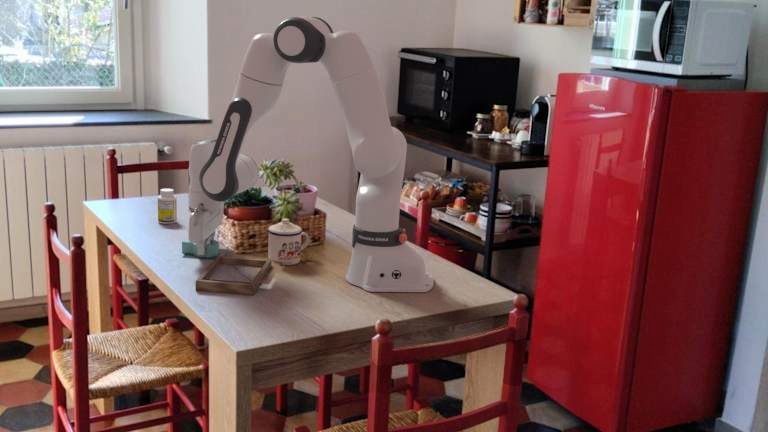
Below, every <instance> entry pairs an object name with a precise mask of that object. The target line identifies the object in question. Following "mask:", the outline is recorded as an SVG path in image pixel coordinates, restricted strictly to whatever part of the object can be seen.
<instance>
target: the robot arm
mask: <svg viewBox="0 0 768 432" xmlns="http://www.w3.org/2000/svg"><path fill="white" fill-rule="evenodd" d="M318 62H319V63H321V65H323V66H324V68H325V70H326V72H327V74H328V76H329V80H330V82H331V85H332V88H333V91H334V93H335V95H336V97H337V101H338V103H339V106H340V110H341V112H342V115H343V119H344V123H345V128H346V133H347V137H348V142H349V146H350V150H351V152H352V162H353V164H354V165H353V166H355V169H356V170H357V171H358V173H360V176H359V182H358V187H357V190H356V191H357V192H356V197H355V214H354V215H355V218H354V224H353V227H352V230H351V247H352V252H351V258H350V262H349V266H348V270H347V271H346V275H345V280H346V281H347V282H348V283H350V284H351V285H354V286H357V287H359V288H361V289H363V290H365V291H366V292H371V293H373V292H375V293H376V292H377V293H380V292H381V293H427V292H429V291H431V290H432V289H433V287H434V285H435V283H434V277H433V276H432V275H431V274H430V273H429V272H427V271H426V269H427V268H426V263H425V260H424V258H423V255H421V254H420V253H418V252H417V251H416V250H415V249H414V248H413V247H411V246H410V245H409V244H408V243H407V240H408V235H407V232H406V229H405V228H401V227H400V226H399V223H400V211H401V210H400V209H401V207H400V206H401V197H402V189H403V185H404V184H403V183H404V175H405V170H406V169H405V168H406V162H407V151H408V145H407V144H408V142H407V140H406V139H407V138H405V136H404V134H403V132H402V131H400V129H398V128H397V127H394V126H392V124H391V120H390V116H389V115H390V114H389V110H388V107H387V105H388V104H387V99H386V96H385V93H384V90H383V86H382V85H381V82H380V80H379V76H378V73H377V72H376V71H377V70H376V69H375V65H374V64H373V60H372V58H371V56H370V54H369V52H368V50H367V48H366V46H365V44H364V42H363V41H362V38H360V35H358V34H357V33H356V32H354V31H352V30H347V29H345V30H344V29H343V30H339V31H336V32H334V30H333V28H332V27H331V25H330V24H329V23H328V22H327V21H325V20H324V19H322V18H320V17H316V16H309V15H299V16H294V17H293V16H291V17H288V18H286V19H285V20H283V21H281V23H280V24H278V26H277V27H276V29H275V31H274V33H270V32H261V33H258V34H256V35H255V36H253V37H252V39H251V41H250V42H249V44H248V47H247V50H246V51H245V54H244V57H243V60H242V63H241V65H240V66H241V67H240V69H239V73H238V74H239V75H238V78H237V82H236V84H235V87H234V92H233V95H232V97H231V100H230V103H229V105H228V106H227V107H228V108H227V110H226V112H225V115H224V118H223V120H222V123H221V126H220V129H219V131H218V134H217V138H210V139H208V138H207V139H203V140H199V141H196V142H194V143H193V144H192V145H191V148H190V151H189V157H188V158H189V160H188V161H189V162H188V169H189V175H190V179H191V182H190V186H189V185H188V208H189V207H191V208H193V209H194V212H193V211H192V212H191V214H190V215H189V221H188V235H187V236H188V240H189V241H190V242H191V243H196V246H197V248H198V255H204V254H205V253H206V247H205V240H206V239H207V238H208V237H209V236H211V238H210V240H215V237H216V232H217V231H216V230H217V229H218V228H220V226H221V225H222V223H223V219H224V209H225V201H228V200H229V199H231V198H233V197H234V196H236V195H238V194H240V193H243V192H245V191H246V190H249V189H250V188H252V187H253V186H254V185H256V183H257V182H258V179H259V167H258V165H257V163H256V162H255V160H254V159H253V158H252V157H250V156H248V155H246V154H242V153H241V152H242V148H243V145H244V142H245V140H246V137H247V135H248V132H249V131H250V129H251V128H252V127H253V126H254V125H255V123H257V122H258V121H259V120H260V119H261V118H263V117H264V116H266V115H267V114H268V113H270V112H271V111H272V110H273V109H274V108H275V106H276V104H277V102H278V101H279V98H280V96H281V94H282V93H281V92H282V89H283V87H284V86H283V85H284V82H285V78H286V73H287V71H288V68H289V67H290V65H291V64H309V63H312V64H313V63H318Z"/></svg>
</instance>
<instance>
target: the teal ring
mask: <svg viewBox="0 0 768 432" xmlns="http://www.w3.org/2000/svg"><path fill="white" fill-rule="evenodd" d="M205 247H206V253H205V254H204V255H198V248H197V246H196V243H191V242H190V241H189V239H183V240H182V241H181V252H182V254H186V253H193V254H194V255H195V256H197V257H212V256H217V255H218V254H219V249H220V242H219V241H218V240H216V239H214V240H210V245H205Z"/></svg>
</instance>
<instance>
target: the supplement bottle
mask: <svg viewBox="0 0 768 432" xmlns="http://www.w3.org/2000/svg"><path fill="white" fill-rule="evenodd" d="M177 204H178V203H177V196H176V195H175V190H174V188H161V189H160V191H159V195H158V196H157V220H158V223H159V224H162V225H163V224H164V225H172V224H175V223H177V220H178V217H177V216H178V215H177V209H178V208H177V206H178V205H177Z"/></svg>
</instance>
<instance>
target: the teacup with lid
mask: <svg viewBox="0 0 768 432" xmlns="http://www.w3.org/2000/svg"><path fill="white" fill-rule="evenodd" d="M267 232H268V252H267V255H268V256H267V257H268V260H271V262H272V261H273V262H275V263H276V262H277V263H281V264H280V266H293V265H294V266H295V265H296V264H298V263H300V261H301V252H302V250H304V249H305V248H306V247H307V246H308V244H309V241H310V238H309V235H308V233H307V232H304V231H303V229H302V228H301V227H300V226H299V225H296V224H294V223H292V222H290V219H289V218H282V219H281V221H279V222H277V223H276V224H272V225H270V226H269V227H268V229H267ZM302 236H304V243H303V244H302Z"/></svg>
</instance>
